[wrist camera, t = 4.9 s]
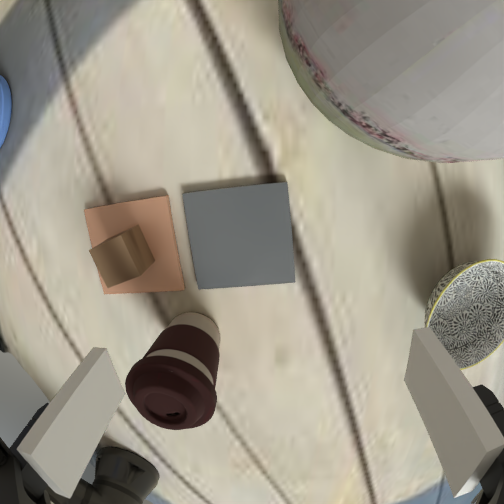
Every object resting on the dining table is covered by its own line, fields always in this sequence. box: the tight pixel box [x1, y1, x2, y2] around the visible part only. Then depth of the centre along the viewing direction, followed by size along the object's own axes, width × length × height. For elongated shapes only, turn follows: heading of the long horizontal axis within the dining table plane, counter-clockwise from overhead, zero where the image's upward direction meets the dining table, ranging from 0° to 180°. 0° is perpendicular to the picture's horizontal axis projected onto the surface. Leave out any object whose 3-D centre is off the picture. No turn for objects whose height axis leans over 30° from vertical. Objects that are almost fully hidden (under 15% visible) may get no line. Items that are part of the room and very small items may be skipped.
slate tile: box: [182, 181, 295, 289], centre depth 37 cm, size 12×12×1 cm
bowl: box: [425, 259, 504, 370], centre depth 35 cm, size 16×16×8 cm
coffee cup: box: [125, 312, 220, 430], centre depth 35 cm, size 10×10×15 cm
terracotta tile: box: [84, 195, 185, 294], centre depth 39 cm, size 12×12×1 cm
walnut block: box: [89, 224, 155, 288], centre depth 36 cm, size 5×5×5 cm
